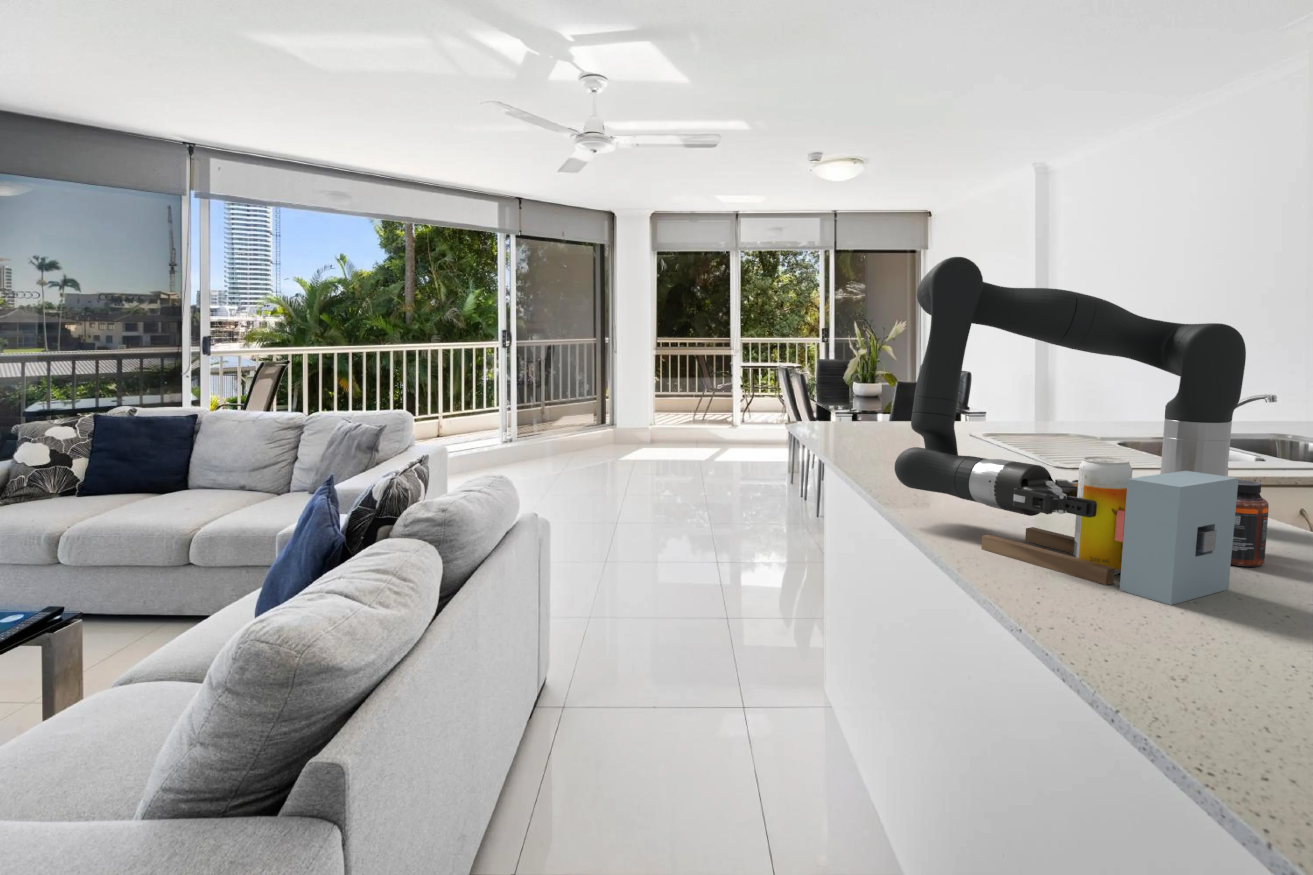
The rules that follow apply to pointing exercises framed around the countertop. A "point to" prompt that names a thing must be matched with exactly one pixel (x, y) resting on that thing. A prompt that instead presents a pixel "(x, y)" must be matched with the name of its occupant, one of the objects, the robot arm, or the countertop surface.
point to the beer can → (1101, 509)
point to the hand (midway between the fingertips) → (1115, 506)
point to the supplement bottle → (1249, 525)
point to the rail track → (1049, 554)
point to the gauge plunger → (1204, 535)
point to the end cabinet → (1177, 535)
